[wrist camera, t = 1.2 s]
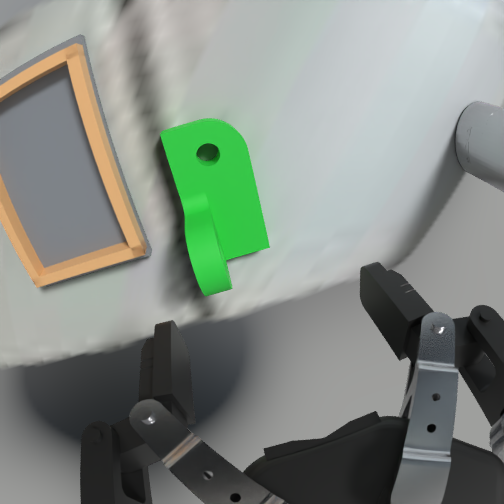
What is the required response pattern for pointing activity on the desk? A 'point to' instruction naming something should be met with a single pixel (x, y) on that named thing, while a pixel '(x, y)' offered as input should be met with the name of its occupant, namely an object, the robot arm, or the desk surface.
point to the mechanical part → (215, 199)
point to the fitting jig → (63, 171)
